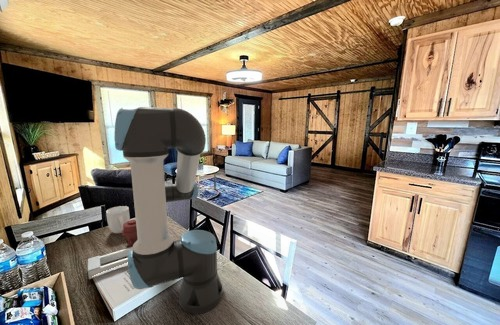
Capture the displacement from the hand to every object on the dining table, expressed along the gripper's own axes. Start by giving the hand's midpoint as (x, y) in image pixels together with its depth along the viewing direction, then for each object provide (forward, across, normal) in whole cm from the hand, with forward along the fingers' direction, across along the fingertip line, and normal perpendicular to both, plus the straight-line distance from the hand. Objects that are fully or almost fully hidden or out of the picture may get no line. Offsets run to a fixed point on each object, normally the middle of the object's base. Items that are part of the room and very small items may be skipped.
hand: (157, 249), depth 102 cm
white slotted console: (0, 0, +16) cm, 16 cm away
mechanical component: (0, +13, +8) cm, 16 cm away
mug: (0, +32, +12) cm, 35 cm away
